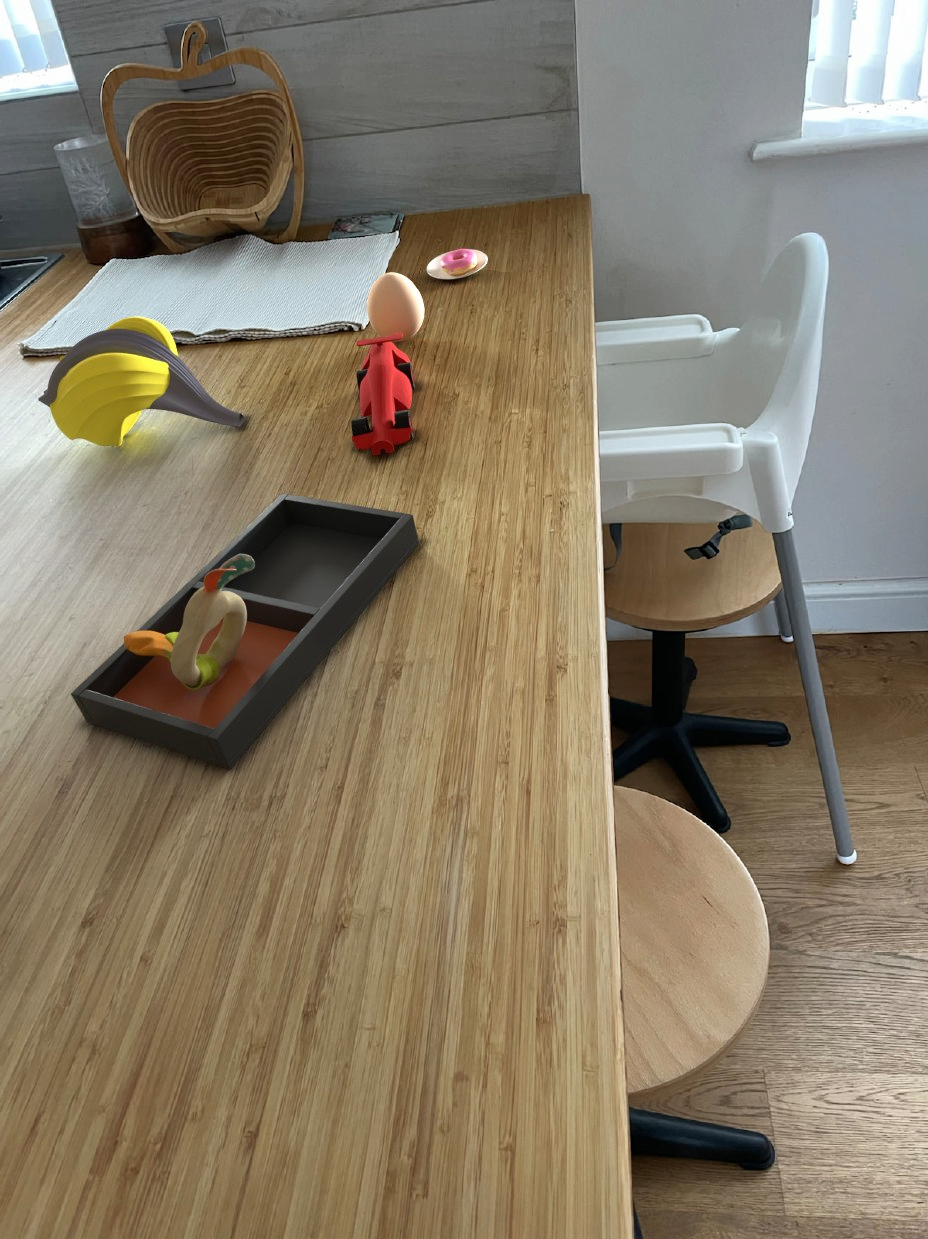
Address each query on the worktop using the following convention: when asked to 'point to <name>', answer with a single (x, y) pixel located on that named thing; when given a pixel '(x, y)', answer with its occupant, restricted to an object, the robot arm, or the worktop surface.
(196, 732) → the tray
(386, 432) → the toy car
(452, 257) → the donut
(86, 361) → the yellow grey curved horn
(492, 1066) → the worktop surface
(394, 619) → the worktop surface
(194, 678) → the rattle
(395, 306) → the egg
